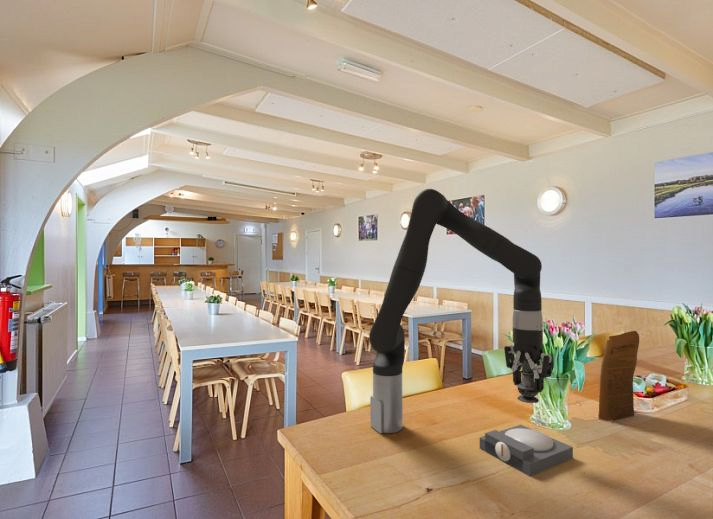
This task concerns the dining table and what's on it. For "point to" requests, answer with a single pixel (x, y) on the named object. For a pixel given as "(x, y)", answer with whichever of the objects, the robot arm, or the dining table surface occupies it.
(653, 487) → the dining table surface
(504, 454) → the kitchen scale
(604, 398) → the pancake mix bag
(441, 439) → the dining table surface
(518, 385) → the salt shaker
